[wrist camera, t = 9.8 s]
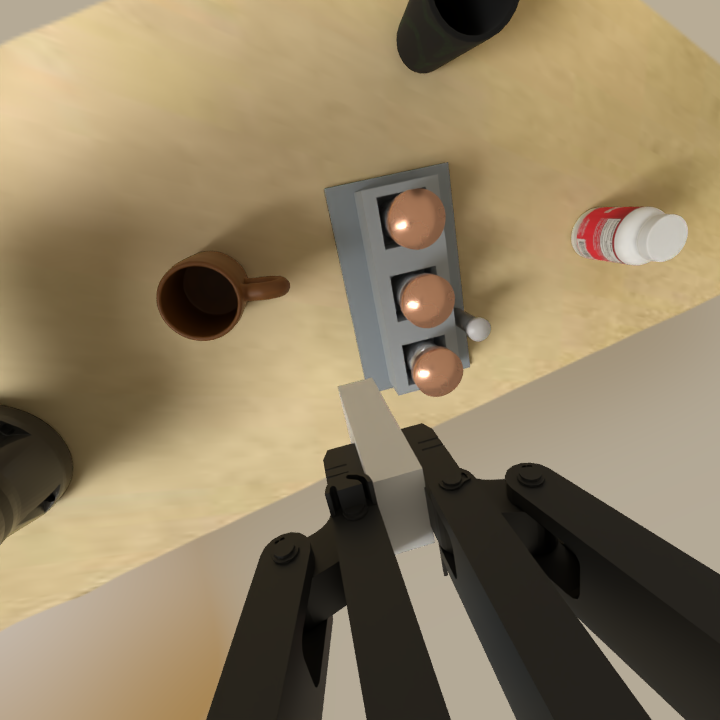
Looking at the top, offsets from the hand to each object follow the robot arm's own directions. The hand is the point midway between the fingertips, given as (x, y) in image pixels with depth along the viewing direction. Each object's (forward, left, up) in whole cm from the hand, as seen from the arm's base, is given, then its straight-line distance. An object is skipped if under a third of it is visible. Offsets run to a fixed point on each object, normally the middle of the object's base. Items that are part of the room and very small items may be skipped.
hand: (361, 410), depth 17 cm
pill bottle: (+36, -2, -33) cm, 49 cm away
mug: (-8, +2, -33) cm, 34 cm away
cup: (+17, +21, -33) cm, 42 cm away
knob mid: (+11, -3, -32) cm, 33 cm away
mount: (+11, -3, -32) cm, 34 cm away
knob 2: (+11, -11, -32) cm, 35 cm away
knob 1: (+11, +5, -32) cm, 34 cm away
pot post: (+17, -8, -32) cm, 37 cm away
